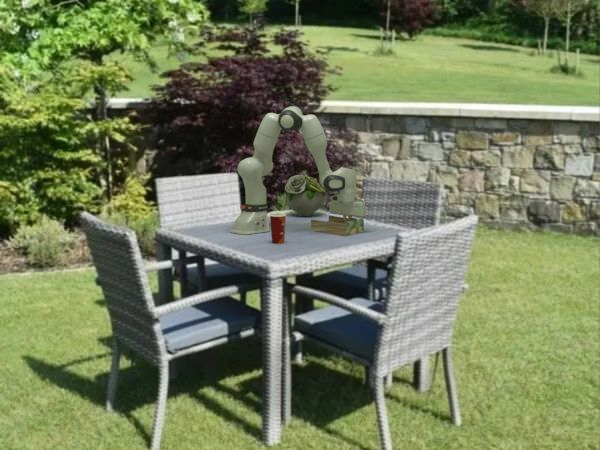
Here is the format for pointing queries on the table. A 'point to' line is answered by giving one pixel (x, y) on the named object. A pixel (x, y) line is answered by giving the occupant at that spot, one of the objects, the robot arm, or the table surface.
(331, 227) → the trap track
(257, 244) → the table surface
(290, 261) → the table surface
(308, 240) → the table surface
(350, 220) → the walnut block
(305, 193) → the flower arrangement
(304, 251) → the table surface
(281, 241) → the coffee cup
